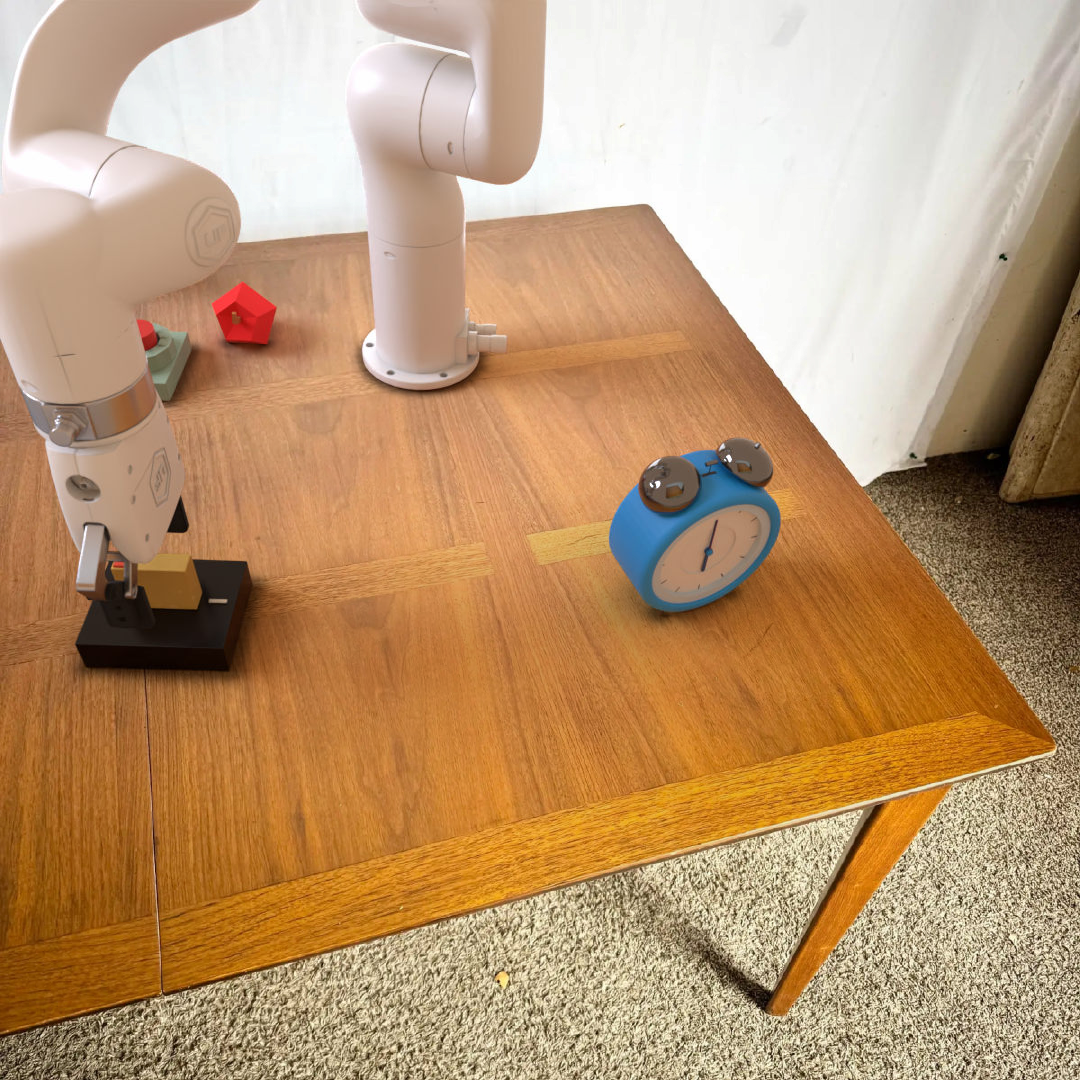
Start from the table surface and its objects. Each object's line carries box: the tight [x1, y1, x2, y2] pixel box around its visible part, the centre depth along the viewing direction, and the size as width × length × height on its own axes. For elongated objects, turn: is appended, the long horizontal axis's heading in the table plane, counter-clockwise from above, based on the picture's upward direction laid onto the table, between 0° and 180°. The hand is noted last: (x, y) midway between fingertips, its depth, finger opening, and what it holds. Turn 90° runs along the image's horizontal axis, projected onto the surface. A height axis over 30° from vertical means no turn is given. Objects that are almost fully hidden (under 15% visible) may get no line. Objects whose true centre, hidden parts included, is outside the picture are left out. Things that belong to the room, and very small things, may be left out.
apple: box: [211, 281, 278, 345], centre depth 103 cm, size 7×7×8 cm
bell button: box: [136, 318, 157, 351], centre depth 97 cm, size 4×4×2 cm
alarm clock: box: [608, 436, 782, 616], centre depth 78 cm, size 13×6×15 cm, turn 115°
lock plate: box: [74, 558, 254, 672], centre depth 76 cm, size 11×9×3 cm
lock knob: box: [111, 552, 202, 609], centre depth 74 cm, size 6×2×5 cm, turn 90°
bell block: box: [145, 322, 193, 402], centre depth 98 cm, size 9×7×4 cm
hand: (151, 575), depth 73 cm, fingers open, 9 cm apart
